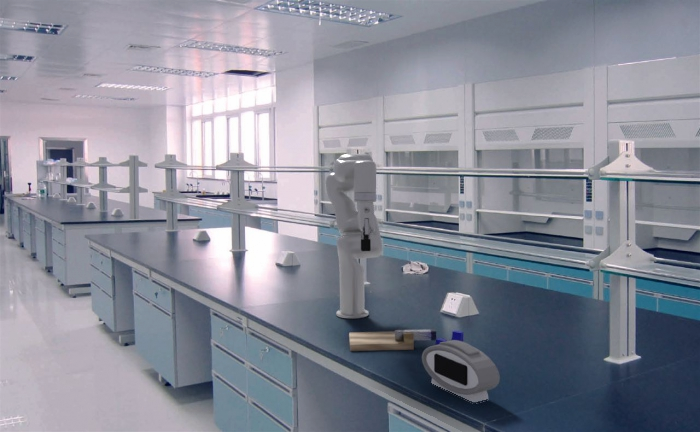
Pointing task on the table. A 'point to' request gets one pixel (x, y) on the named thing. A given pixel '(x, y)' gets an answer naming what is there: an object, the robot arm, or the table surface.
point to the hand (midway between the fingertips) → (365, 250)
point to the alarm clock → (461, 369)
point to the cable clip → (455, 336)
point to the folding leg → (416, 334)
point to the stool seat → (379, 341)
